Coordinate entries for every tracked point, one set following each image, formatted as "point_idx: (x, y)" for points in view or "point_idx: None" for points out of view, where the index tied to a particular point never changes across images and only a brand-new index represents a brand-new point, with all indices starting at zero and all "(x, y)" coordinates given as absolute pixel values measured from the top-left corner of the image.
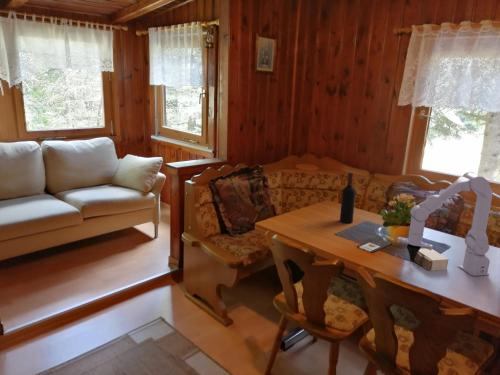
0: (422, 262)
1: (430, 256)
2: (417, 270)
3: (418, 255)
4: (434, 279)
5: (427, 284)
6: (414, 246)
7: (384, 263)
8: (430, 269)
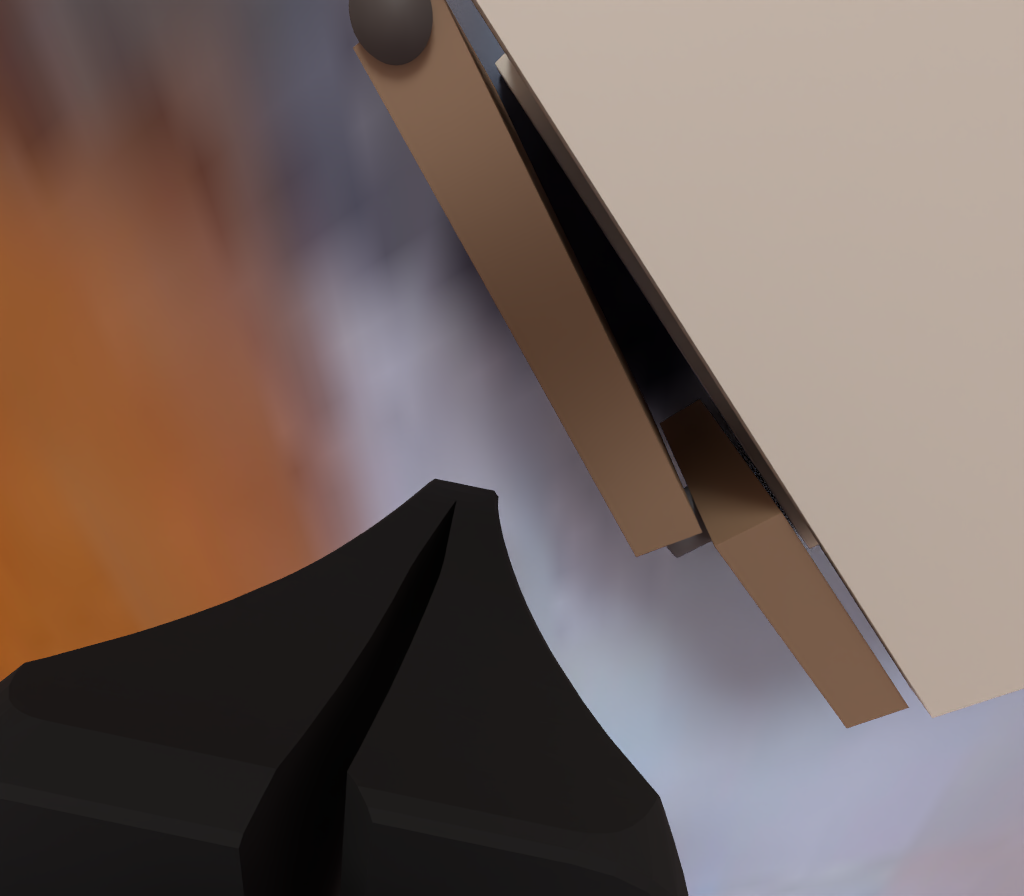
0: (675, 458)
1: (968, 502)
2: (579, 602)
3: (578, 439)
4: (791, 747)
5: (683, 849)
6: (312, 803)
7: (118, 574)
8: (801, 534)
